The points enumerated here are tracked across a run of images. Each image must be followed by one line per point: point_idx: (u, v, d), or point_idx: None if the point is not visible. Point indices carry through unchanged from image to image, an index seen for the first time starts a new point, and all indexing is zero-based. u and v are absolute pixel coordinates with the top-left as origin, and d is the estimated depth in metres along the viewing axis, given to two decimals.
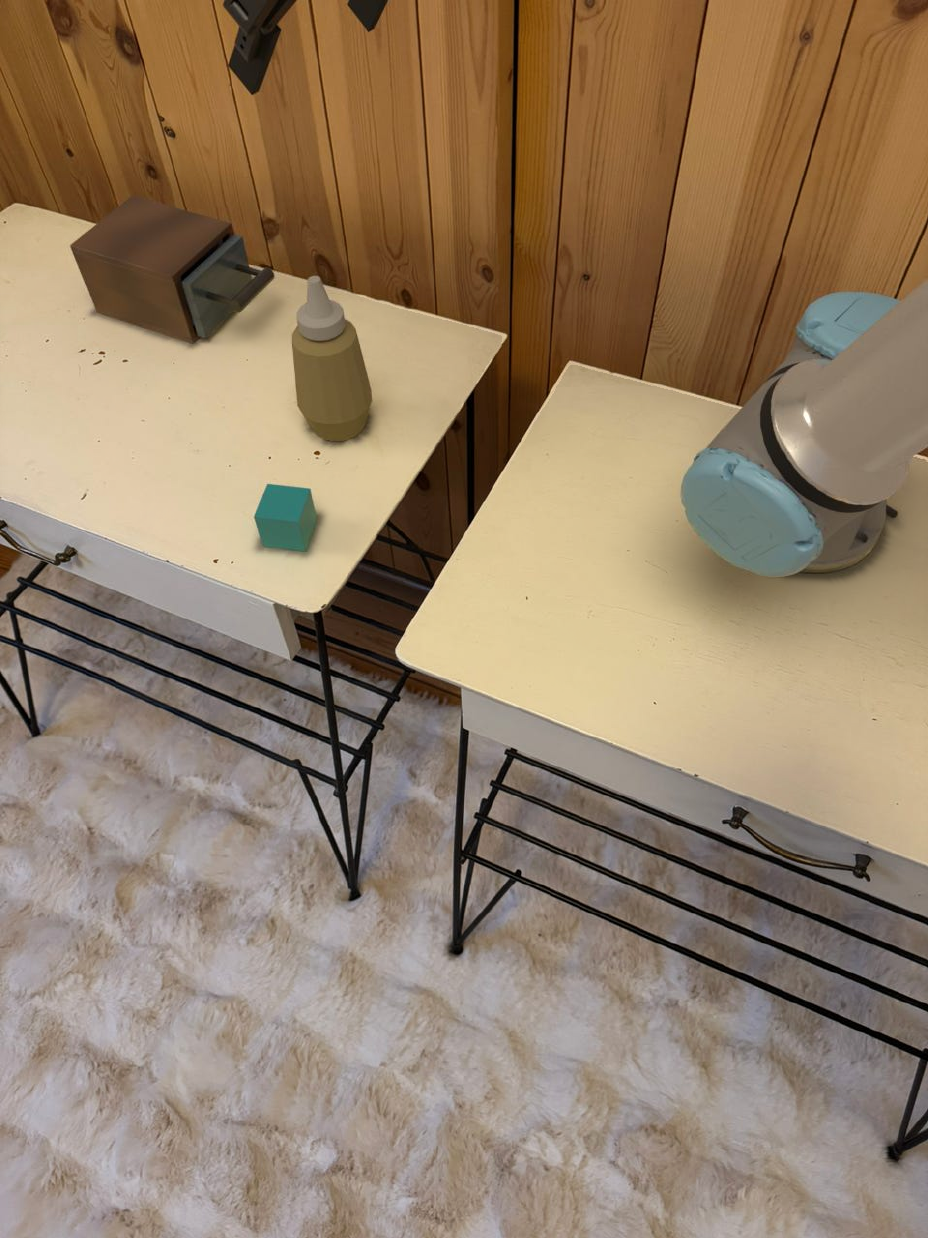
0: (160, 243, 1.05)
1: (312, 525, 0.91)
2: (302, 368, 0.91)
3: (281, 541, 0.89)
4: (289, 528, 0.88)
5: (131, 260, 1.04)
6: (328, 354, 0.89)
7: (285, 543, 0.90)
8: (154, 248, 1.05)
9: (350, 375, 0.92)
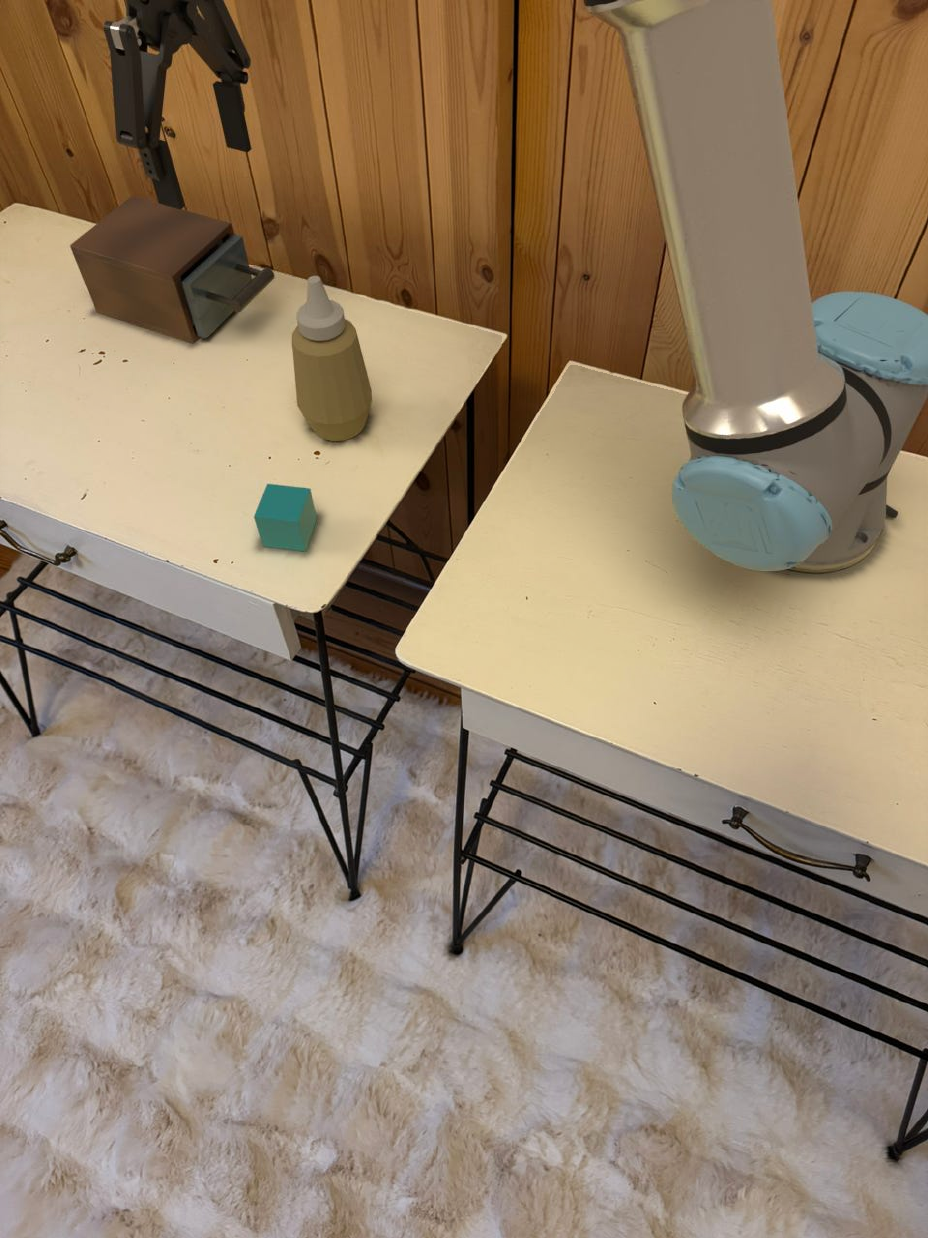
0: (160, 243, 1.05)
1: (312, 525, 0.91)
2: (302, 368, 0.91)
3: (281, 541, 0.89)
4: (289, 528, 0.88)
5: (131, 260, 1.04)
6: (328, 354, 0.89)
7: (285, 543, 0.90)
8: (154, 248, 1.05)
9: (350, 375, 0.92)
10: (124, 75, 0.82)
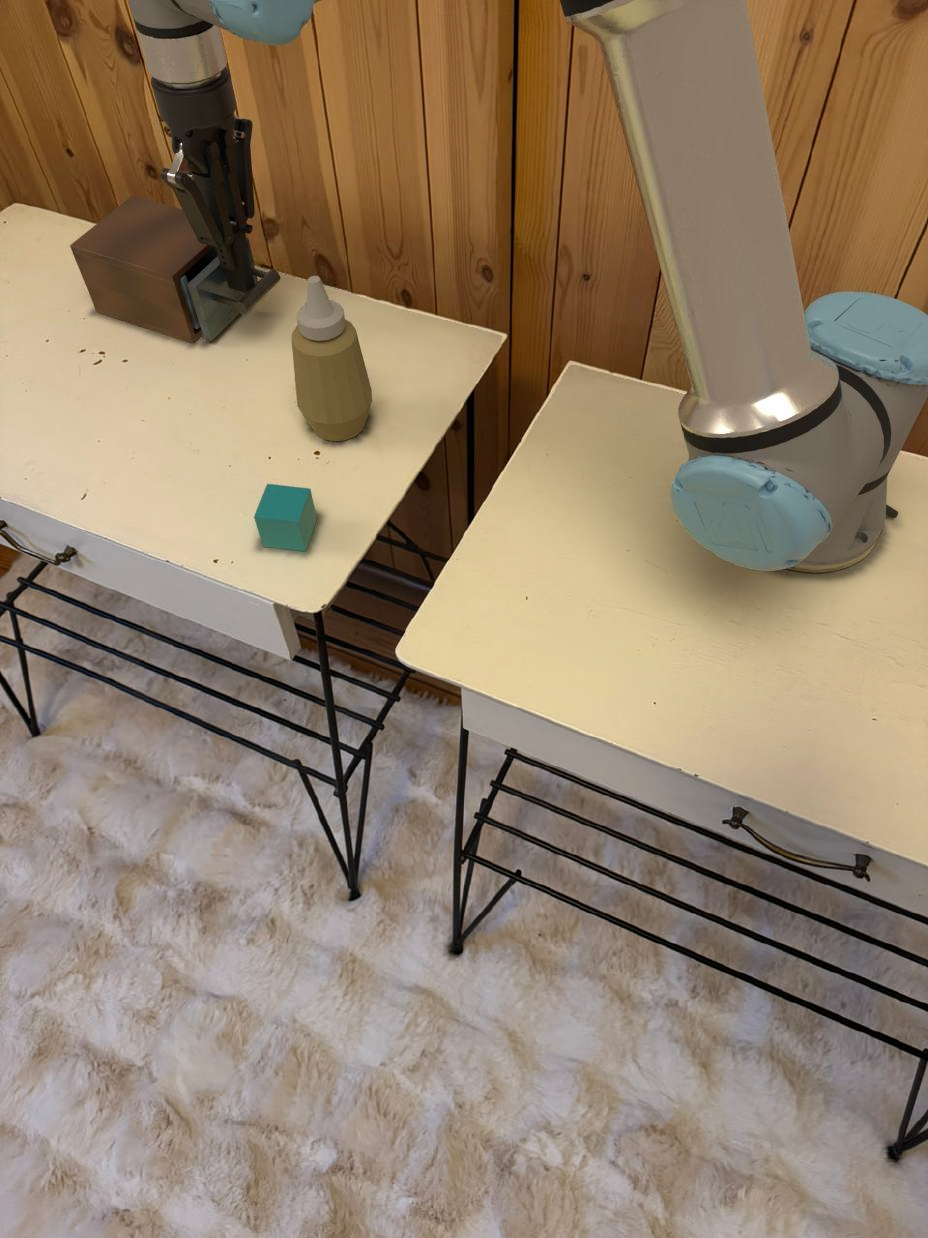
0: (160, 243, 1.05)
1: (312, 525, 0.91)
2: (302, 368, 0.91)
3: (281, 541, 0.89)
4: (289, 528, 0.88)
5: (131, 260, 1.04)
6: (328, 354, 0.89)
7: (285, 543, 0.90)
8: (154, 248, 1.05)
9: (350, 375, 0.92)
10: (190, 204, 0.93)
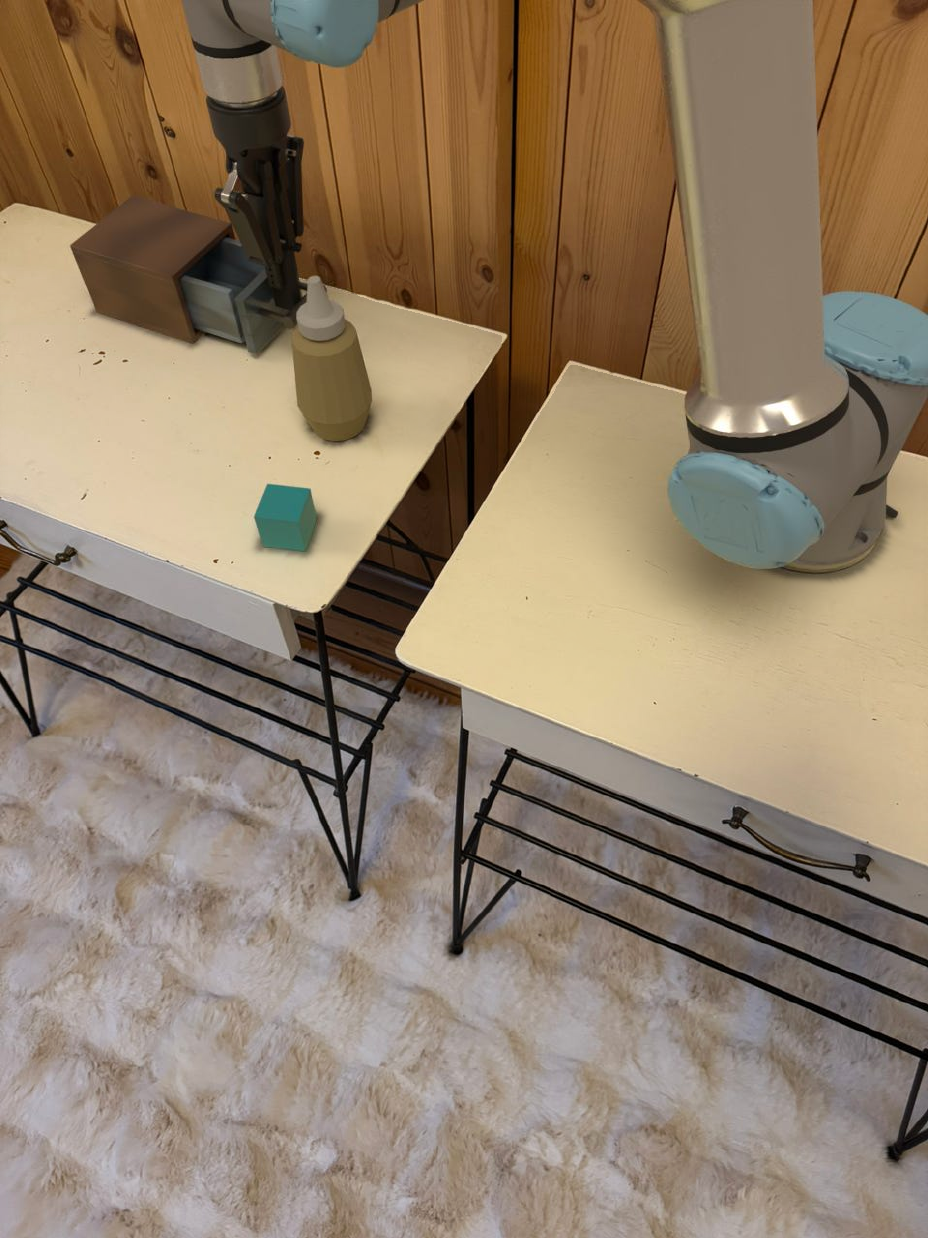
0: (160, 243, 1.05)
1: (312, 525, 0.91)
2: (302, 368, 0.91)
3: (281, 541, 0.89)
4: (289, 528, 0.88)
5: (131, 260, 1.04)
6: (328, 354, 0.89)
7: (285, 543, 0.90)
8: (154, 248, 1.05)
9: (350, 375, 0.92)
10: (242, 224, 0.92)
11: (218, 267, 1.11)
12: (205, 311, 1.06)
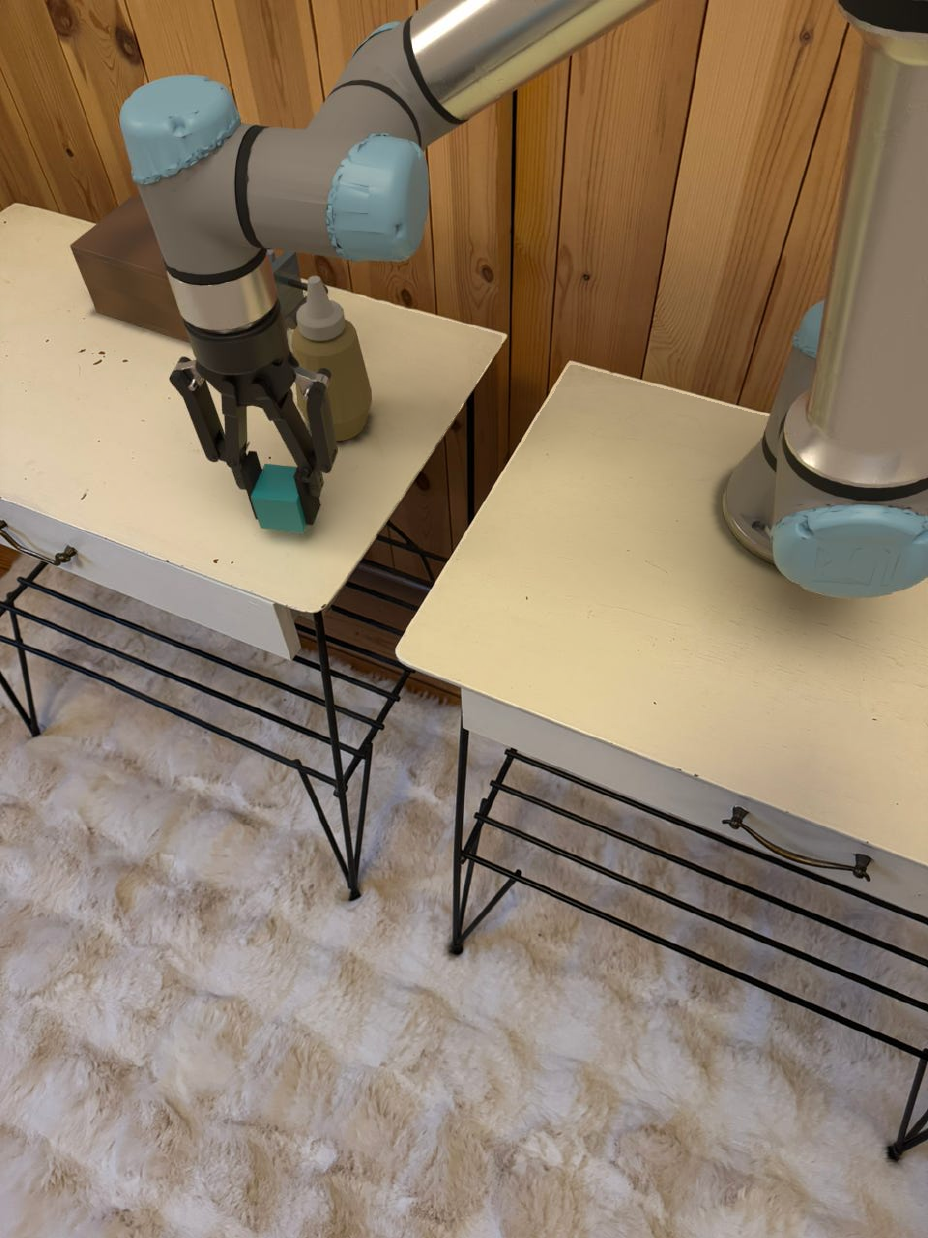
0: None
1: None
2: None
3: (279, 522, 0.87)
4: (287, 509, 0.85)
5: (131, 260, 1.04)
6: (328, 354, 0.89)
7: (283, 525, 0.87)
8: (154, 248, 1.05)
9: (350, 375, 0.92)
10: None
11: None
12: None
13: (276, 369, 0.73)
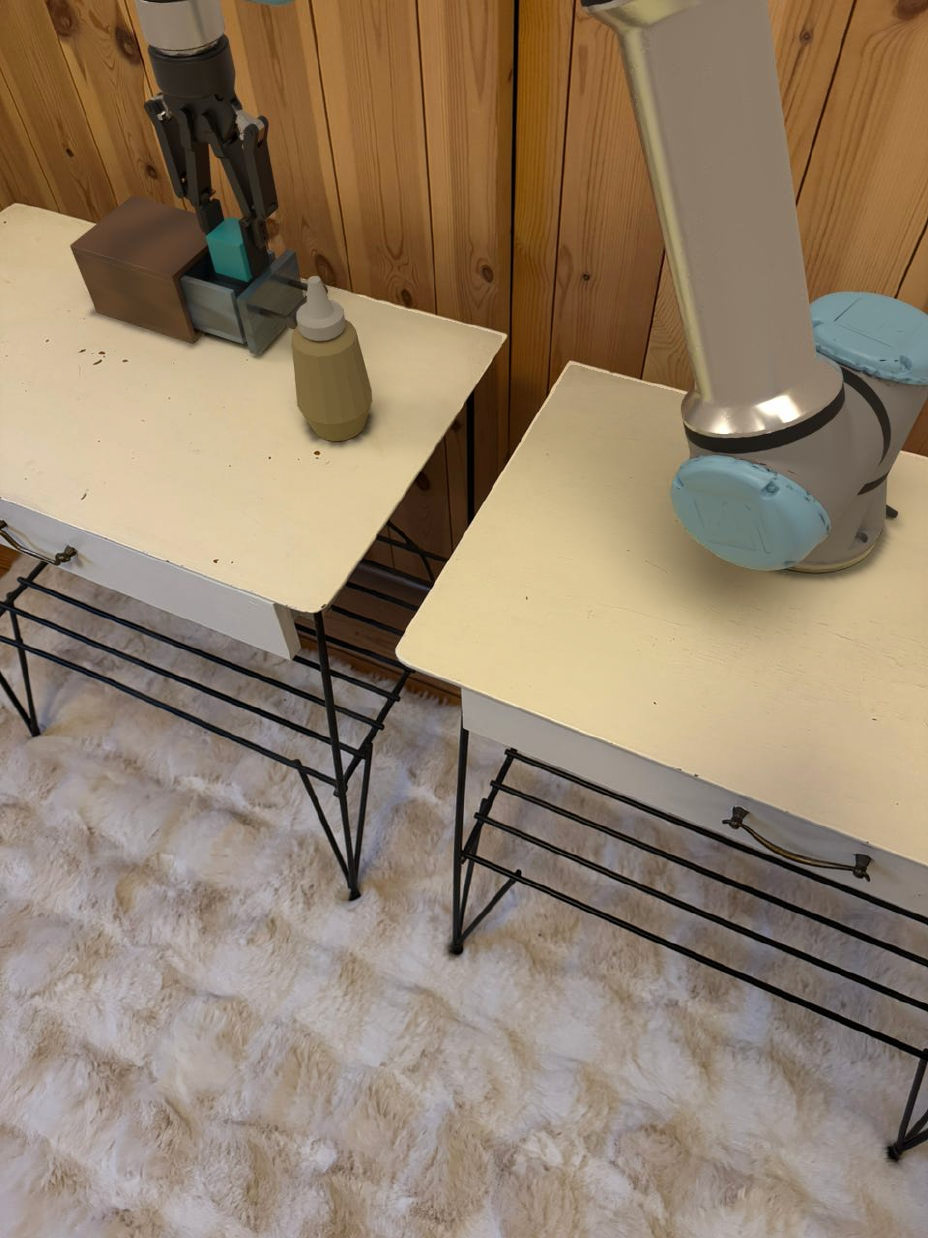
0: (160, 243, 1.05)
1: None
2: (302, 368, 0.91)
3: (228, 267, 1.02)
4: (233, 253, 1.00)
5: (131, 260, 1.04)
6: (328, 354, 0.89)
7: (231, 270, 1.02)
8: (154, 248, 1.05)
9: (350, 375, 0.92)
10: None
11: None
12: (206, 311, 1.06)
13: (219, 104, 0.87)
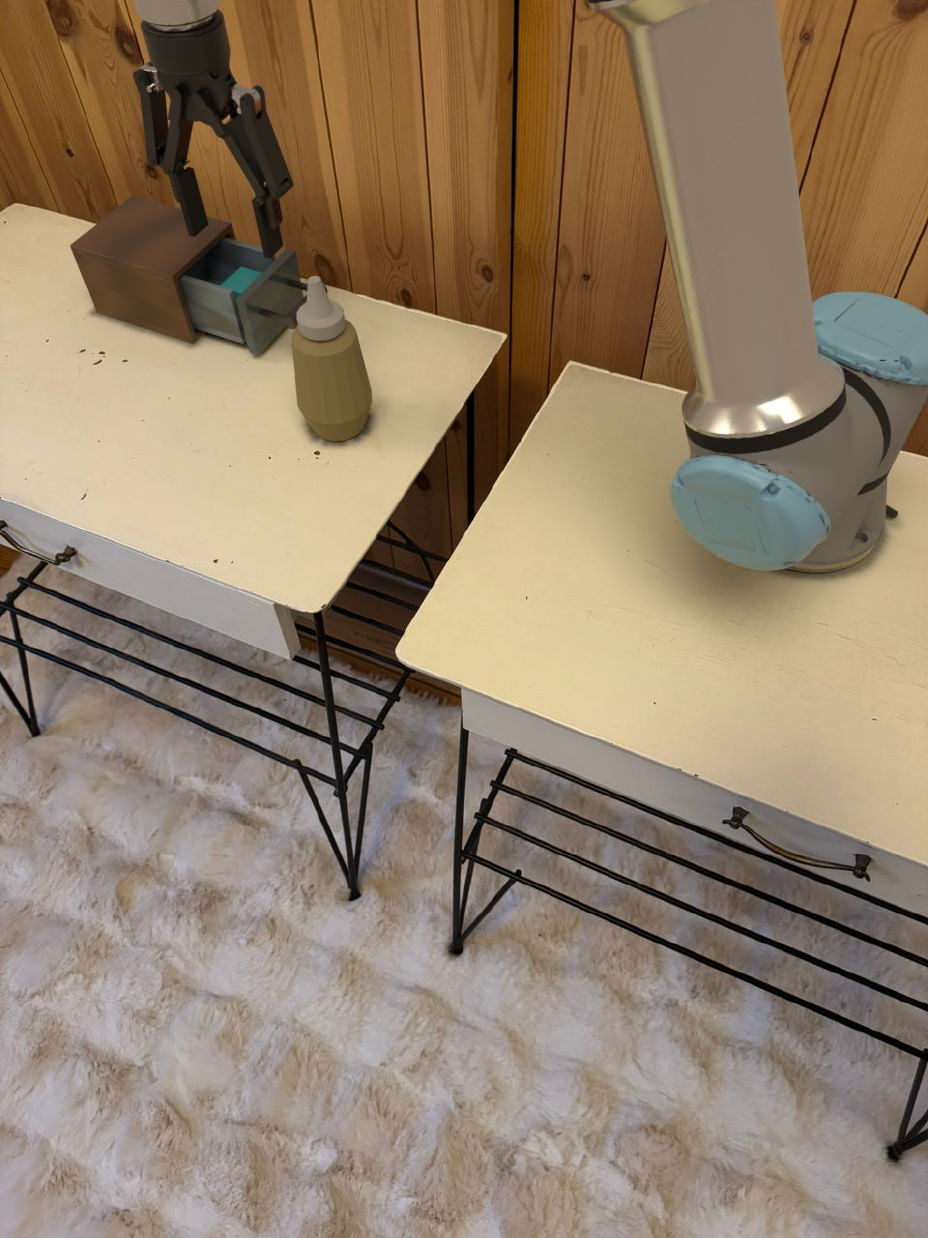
0: (160, 243, 1.05)
1: None
2: (302, 368, 0.91)
3: None
4: None
5: (131, 260, 1.04)
6: (328, 354, 0.89)
7: None
8: (154, 248, 1.05)
9: (350, 375, 0.92)
10: None
11: (219, 267, 1.11)
12: (206, 311, 1.06)
13: (214, 82, 0.86)
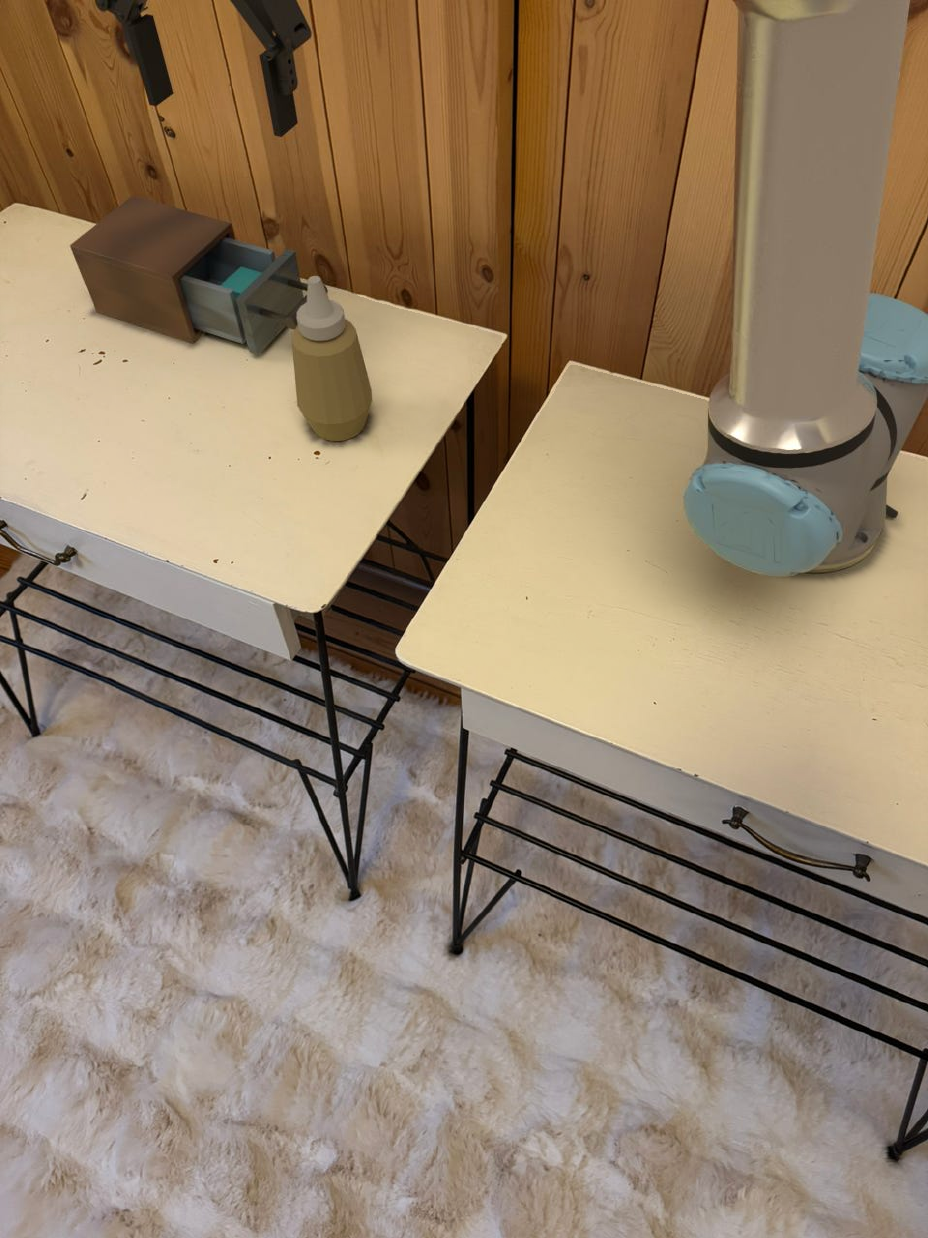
0: (160, 243, 1.05)
1: None
2: (302, 368, 0.91)
3: None
4: None
5: (131, 260, 1.04)
6: (328, 354, 0.89)
7: None
8: (154, 248, 1.05)
9: (350, 375, 0.92)
10: None
11: (219, 267, 1.11)
12: (206, 311, 1.06)
13: None
